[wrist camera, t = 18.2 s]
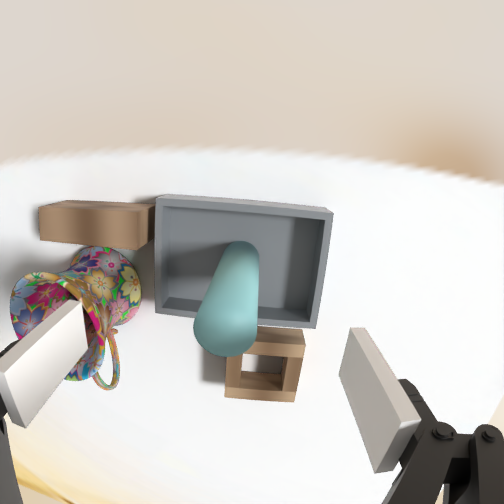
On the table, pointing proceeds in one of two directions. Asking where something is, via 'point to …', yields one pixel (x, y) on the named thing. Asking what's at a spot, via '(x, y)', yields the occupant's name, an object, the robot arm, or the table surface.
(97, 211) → the block
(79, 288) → the mug
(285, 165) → the table surface
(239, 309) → the dowel
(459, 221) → the table surface
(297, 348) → the socket
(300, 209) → the tray
